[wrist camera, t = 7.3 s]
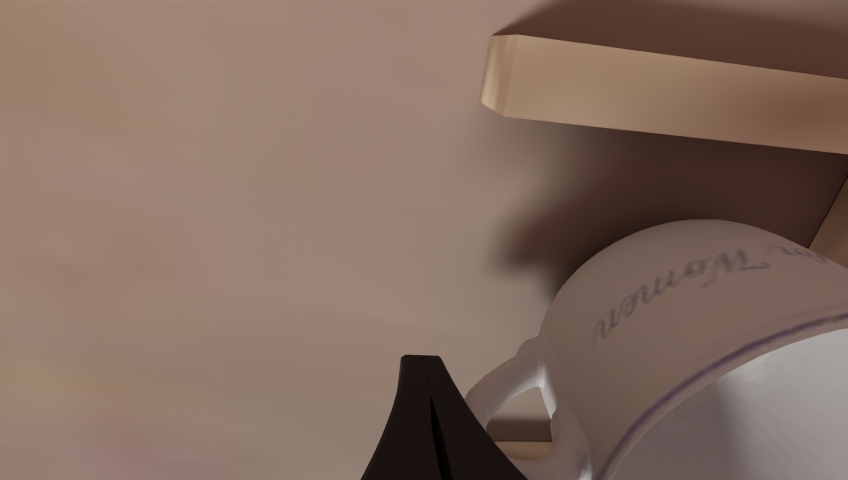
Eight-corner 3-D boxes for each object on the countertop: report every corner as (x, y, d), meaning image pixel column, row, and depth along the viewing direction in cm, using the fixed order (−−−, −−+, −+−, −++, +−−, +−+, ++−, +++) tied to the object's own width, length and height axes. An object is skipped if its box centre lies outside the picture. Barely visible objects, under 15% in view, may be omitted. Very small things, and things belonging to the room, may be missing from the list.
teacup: (802, 205, 17) (1113, 329, 10) (693, 406, 21) (850, 591, 14) (463, 166, 15) (538, 284, 8) (421, 396, 19) (444, 605, 12)
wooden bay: (719, 468, 24) (763, 523, 21) (419, 468, 22) (425, 529, 19) (942, 96, 15) (1060, 108, 13) (490, 35, 13) (518, 34, 11)
